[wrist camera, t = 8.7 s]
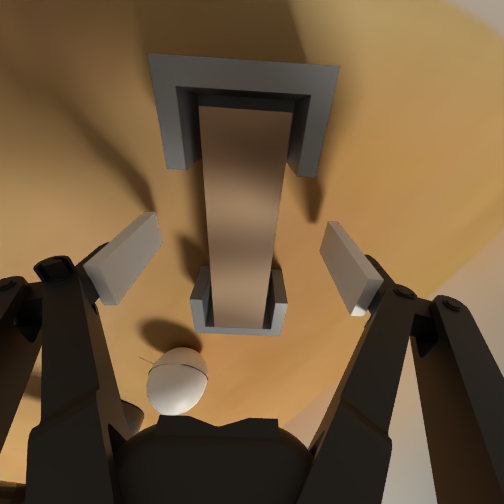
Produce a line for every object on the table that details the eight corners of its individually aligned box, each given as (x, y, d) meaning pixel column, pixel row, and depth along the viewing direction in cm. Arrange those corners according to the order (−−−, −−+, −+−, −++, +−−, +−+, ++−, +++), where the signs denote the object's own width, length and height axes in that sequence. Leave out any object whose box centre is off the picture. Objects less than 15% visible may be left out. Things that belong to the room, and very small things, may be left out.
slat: (260, 287, 21) (262, 328, 17) (222, 285, 21) (214, 326, 17) (280, 113, 13) (292, 112, 9) (217, 109, 13) (198, 105, 8)
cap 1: (180, 72, 12) (147, 52, 8) (314, 81, 12) (340, 66, 8) (189, 155, 15) (167, 169, 11) (300, 161, 15) (315, 177, 11)
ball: (221, 359, 30) (213, 421, 24) (178, 367, 31) (160, 427, 25) (186, 318, 25) (164, 384, 19) (137, 330, 26) (101, 395, 20)
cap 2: (276, 300, 23) (280, 336, 19) (205, 297, 23) (195, 332, 19) (281, 269, 20) (287, 303, 17) (201, 265, 20) (189, 299, 16)
